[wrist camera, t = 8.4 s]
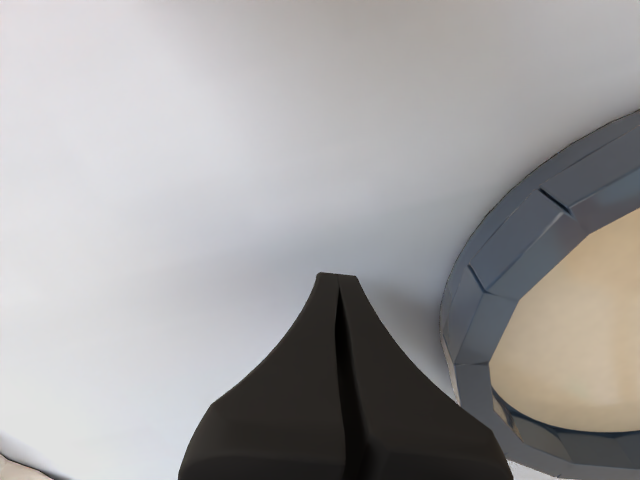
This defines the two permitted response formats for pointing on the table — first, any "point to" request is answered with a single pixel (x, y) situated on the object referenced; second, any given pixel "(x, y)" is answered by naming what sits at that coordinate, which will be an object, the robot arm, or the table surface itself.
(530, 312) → the plate
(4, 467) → the white tube cluster
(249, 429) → the robot arm
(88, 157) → the table surface
